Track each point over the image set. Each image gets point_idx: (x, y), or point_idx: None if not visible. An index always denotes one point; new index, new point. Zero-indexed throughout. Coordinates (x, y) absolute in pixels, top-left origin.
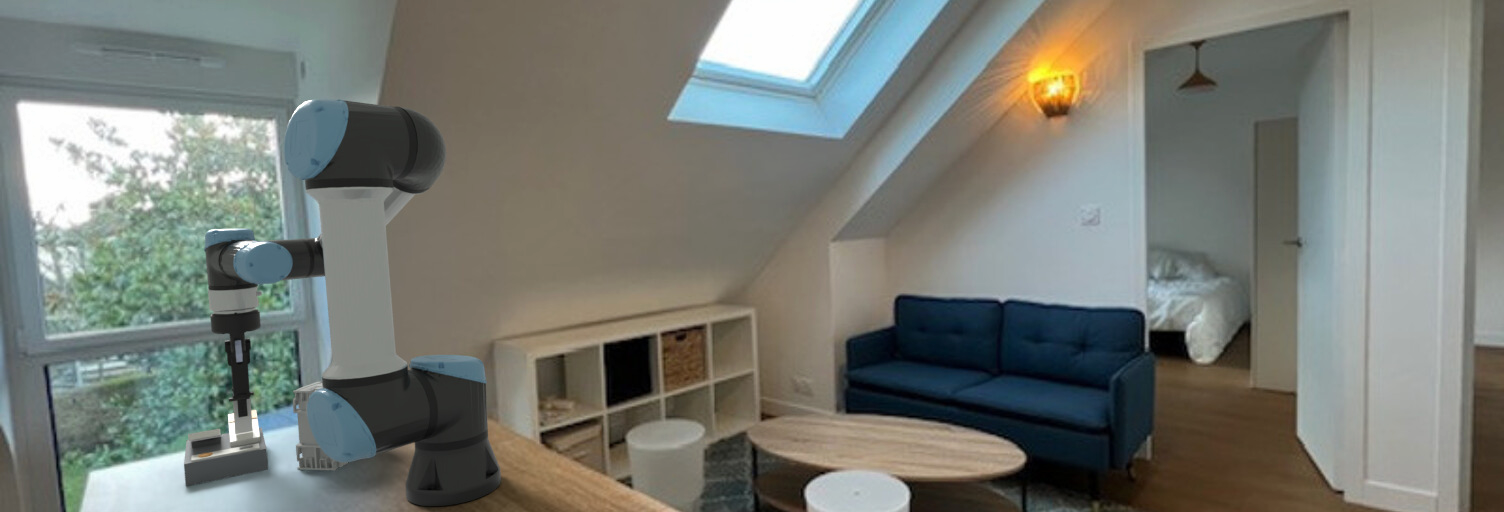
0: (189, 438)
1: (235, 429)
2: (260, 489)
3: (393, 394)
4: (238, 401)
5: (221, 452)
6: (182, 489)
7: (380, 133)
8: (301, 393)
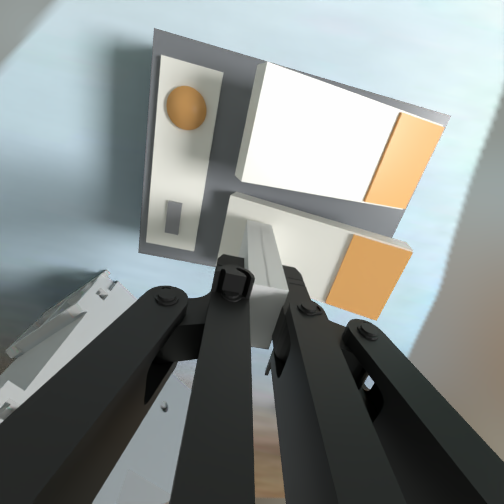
0: (258, 68)
1: (246, 226)
2: (8, 179)
3: None
4: (208, 296)
5: (181, 155)
6: (150, 33)
7: None
8: None
